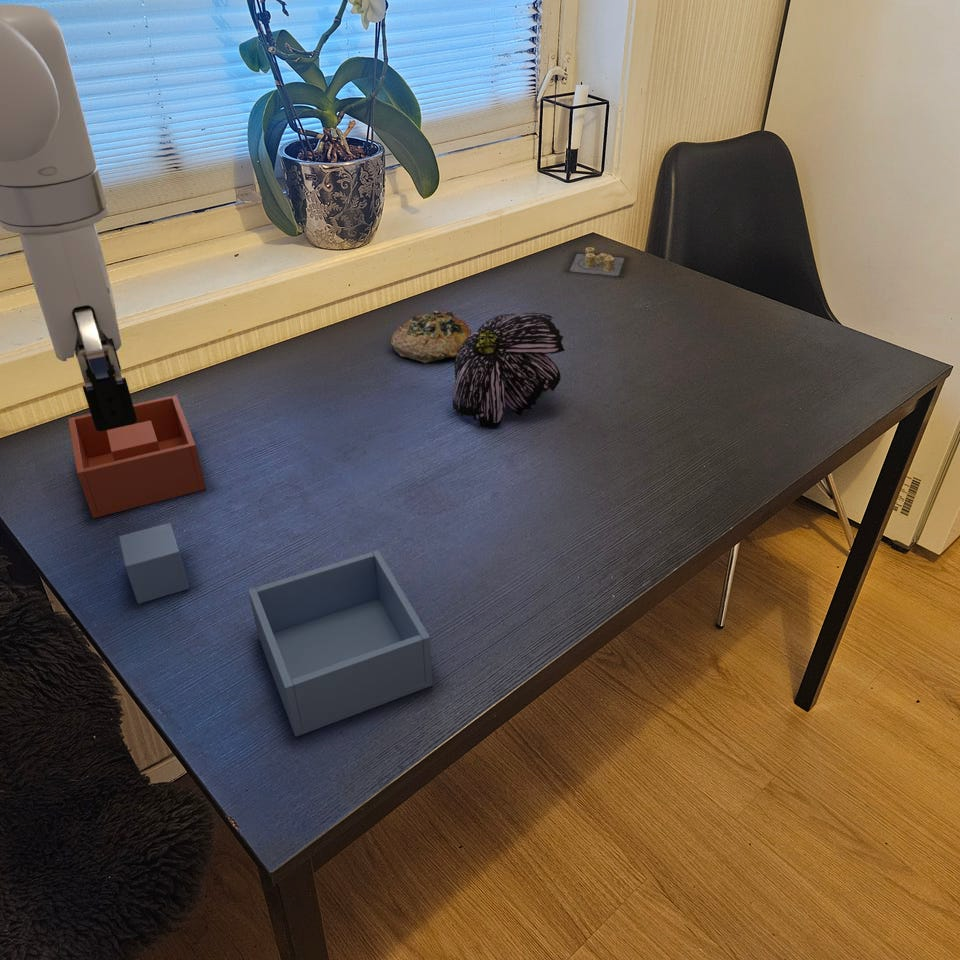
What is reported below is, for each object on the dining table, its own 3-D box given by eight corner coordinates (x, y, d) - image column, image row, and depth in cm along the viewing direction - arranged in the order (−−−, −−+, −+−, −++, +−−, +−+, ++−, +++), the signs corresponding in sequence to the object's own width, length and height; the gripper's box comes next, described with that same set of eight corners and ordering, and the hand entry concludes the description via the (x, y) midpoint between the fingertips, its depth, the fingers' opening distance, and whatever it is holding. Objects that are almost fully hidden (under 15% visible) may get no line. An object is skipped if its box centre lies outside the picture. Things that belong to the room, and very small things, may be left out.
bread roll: (444, 318, 120) (445, 288, 117) (488, 357, 114) (490, 326, 110) (377, 341, 115) (375, 310, 112) (419, 383, 109) (419, 352, 105)
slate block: (137, 604, 74) (125, 566, 71) (131, 573, 77) (118, 536, 74) (189, 588, 75) (179, 551, 73) (181, 559, 79) (170, 522, 76)
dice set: (612, 272, 135) (613, 260, 134) (580, 268, 136) (581, 257, 135) (616, 260, 139) (617, 249, 138) (585, 257, 140) (586, 246, 139)
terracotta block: (122, 487, 87) (111, 451, 84) (117, 465, 90) (106, 429, 87) (167, 476, 88) (157, 440, 86) (160, 454, 92) (150, 420, 89)
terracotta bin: (93, 518, 84) (77, 473, 80) (82, 461, 92) (68, 418, 88) (206, 489, 88) (195, 444, 84) (187, 436, 96) (176, 394, 92)
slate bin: (295, 737, 62) (284, 688, 59) (258, 637, 71) (247, 589, 67) (432, 685, 66) (430, 636, 63) (383, 597, 74) (378, 549, 71)
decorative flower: (418, 313, 99) (536, 270, 99) (442, 376, 109) (550, 337, 109) (447, 400, 91) (577, 352, 91) (471, 460, 100) (588, 417, 100)
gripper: (-9, 174, 67) (54, 365, 76) (-3, 242, 54) (72, 461, 64) (91, 163, 69) (139, 349, 79) (119, 225, 57) (172, 437, 67)
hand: (109, 399), depth 72 cm, fingers open, 9 cm apart
